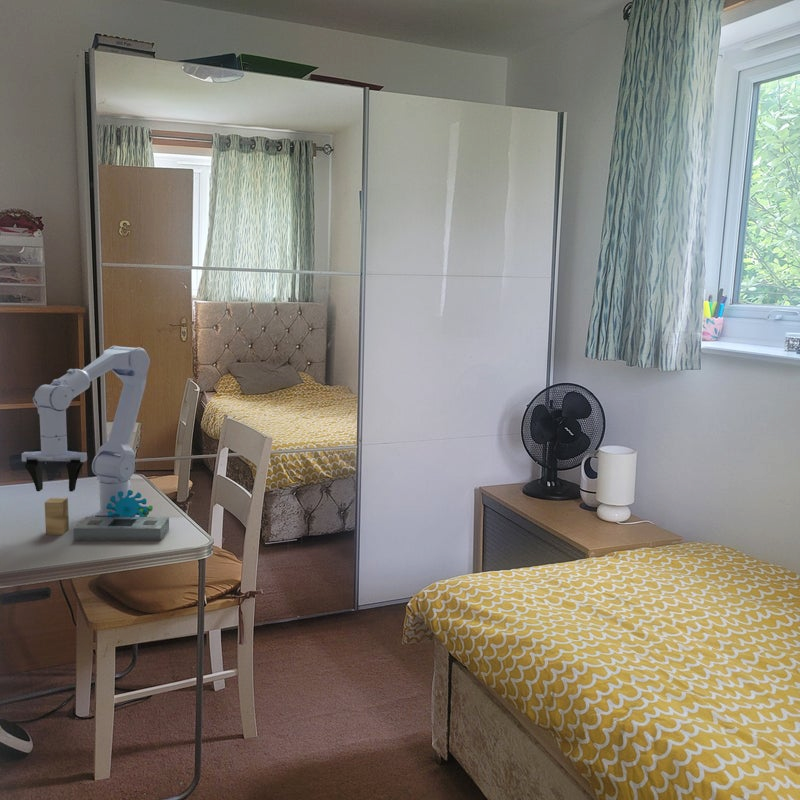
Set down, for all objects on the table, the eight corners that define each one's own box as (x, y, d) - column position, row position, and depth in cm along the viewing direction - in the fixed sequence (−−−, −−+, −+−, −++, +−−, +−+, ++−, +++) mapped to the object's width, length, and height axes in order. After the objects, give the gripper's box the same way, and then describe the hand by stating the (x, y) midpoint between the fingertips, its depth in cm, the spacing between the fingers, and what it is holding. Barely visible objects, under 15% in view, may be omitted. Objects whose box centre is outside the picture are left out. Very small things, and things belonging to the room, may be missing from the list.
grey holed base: (86, 528, 189) (85, 516, 188) (169, 528, 190) (168, 516, 190) (73, 540, 180) (73, 527, 179) (160, 540, 181) (160, 528, 181)
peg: (52, 529, 188) (50, 497, 186) (69, 529, 188) (67, 497, 187) (46, 534, 184) (44, 502, 182) (63, 534, 184) (61, 502, 183)
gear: (103, 521, 189) (110, 486, 195) (103, 532, 194) (110, 498, 200) (149, 525, 192) (155, 491, 198) (148, 536, 197) (154, 502, 203)
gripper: (15, 437, 178) (17, 494, 180) (79, 438, 179) (81, 495, 181) (27, 432, 185) (29, 486, 187) (89, 432, 186) (90, 487, 188)
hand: (55, 490), depth 184 cm, fingers open, 7 cm apart
